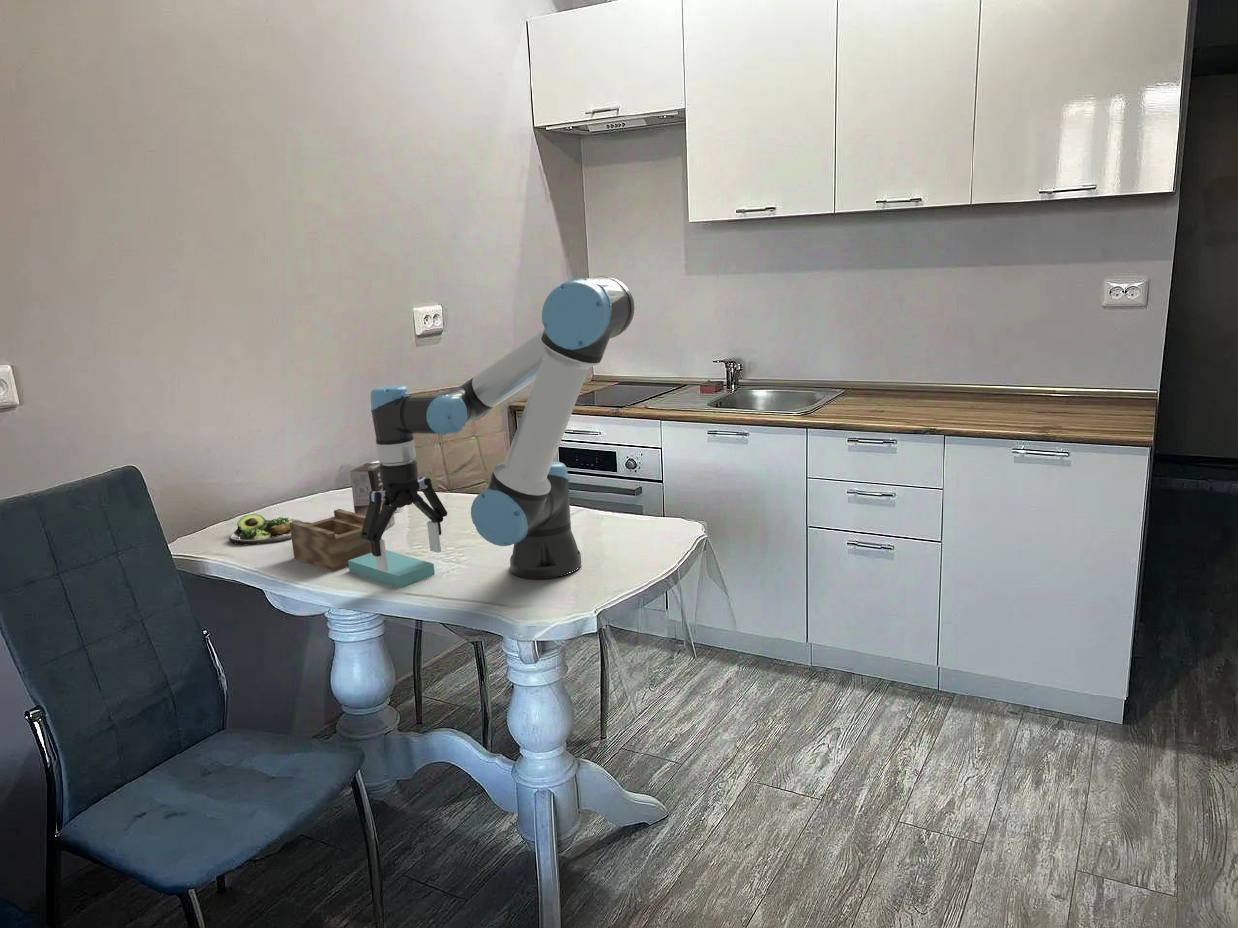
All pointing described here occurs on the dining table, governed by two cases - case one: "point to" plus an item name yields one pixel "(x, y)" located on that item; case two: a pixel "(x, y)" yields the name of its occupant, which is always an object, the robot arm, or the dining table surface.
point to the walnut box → (330, 540)
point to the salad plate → (262, 529)
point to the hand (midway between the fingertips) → (409, 560)
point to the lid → (392, 569)
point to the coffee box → (366, 487)
